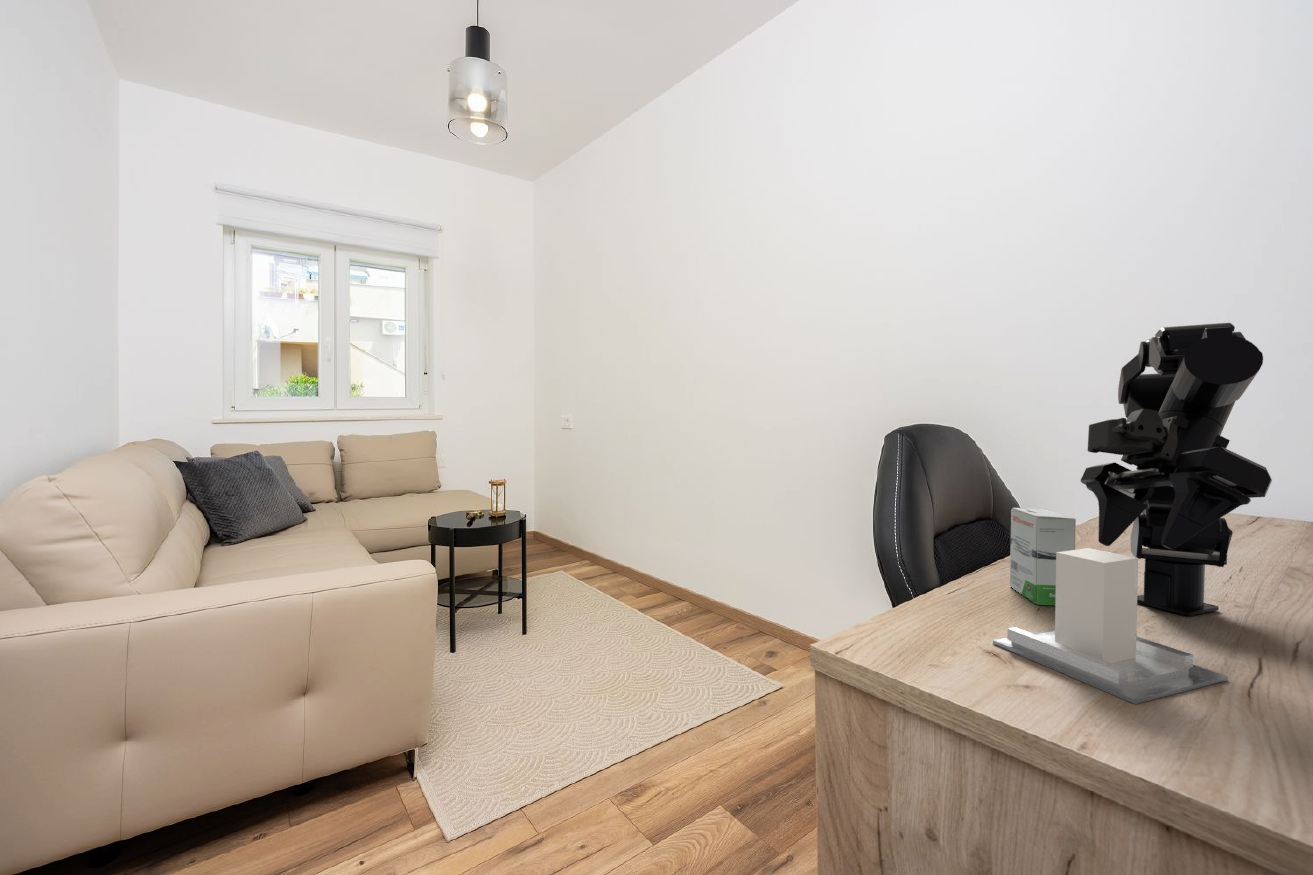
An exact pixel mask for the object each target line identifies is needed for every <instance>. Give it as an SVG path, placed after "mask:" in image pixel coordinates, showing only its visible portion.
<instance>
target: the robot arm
mask: <svg viewBox="0 0 1313 875" xmlns="http://www.w3.org/2000/svg"><path fill="white" fill-rule="evenodd" d="M1235 328H1236V327H1235V325H1234V324H1233V323H1231V322H1221V323H1220V322H1219V323H1204V324H1194V325H1193V324H1192V325H1191V324H1190V325H1178V326H1177V325H1176V326H1163V327H1161V328H1160V329H1158V331H1157V332H1156V333H1155V334H1154V337H1151V338H1148V339H1146V340H1144V341H1140V343H1139V349H1138V353H1137V354H1136V355H1135V356H1134V357H1133V358H1132V359H1131V360H1130V361H1128V362H1127V363H1126V364H1125V365H1123V366H1122V367H1121V370H1120V377H1119V381H1118V388H1117V389H1118V390H1117V399H1118V404H1119V405H1122V406H1123V410H1124V415H1125V417H1119V418H1116V419H1115V418H1113V419H1112V418H1111V419H1107V420H1103V421H1098V422H1096V423H1091V424H1089V425H1088V432H1087V433H1088V435H1087V436H1088V437H1087V452H1088V453H1093V454H1098V453H1105V454H1112V455H1118V456H1119V455H1120V456H1122V457H1121V459H1120V461H1121V462H1123V463H1126V464H1128V465H1130V466H1132V465H1133V466H1135V467H1136V470H1132V469H1129V468H1127V467H1125V466H1123V465H1121V464H1119V463H1117V462H1109V463H1102V464H1096V465H1092V466H1090V467H1086V468H1085V470H1084V472H1083V474H1082V476H1081V478H1080V482H1081V484H1083V485H1085V486H1086V488H1087V490H1089V491H1091V492H1092V493H1093V494H1094V496H1095V497H1096V499H1097V504H1098V543H1099V544H1101V545H1103V546H1105V547H1110V546H1112V545H1113V543H1115V542H1116V540H1118V539H1119V538H1120V536H1121V535H1122V534H1123V533H1124V532H1125V531H1126V530H1127V529H1128V528H1129V527H1130V526H1131V525H1132V529H1131V534H1130V552H1131V554H1132V556H1133V557H1136V558H1138V560H1139V559H1140V560H1142V559H1143V560H1144V571H1143V594H1141V595H1140V594H1139V595H1137V604H1142V605H1145V606H1149V607H1153V608H1156V609H1160V610H1163V611H1168V612H1170V613H1171V612H1172V613H1175V614H1179V615H1182V616H1188V617H1189V616H1195V615H1196V616H1197V615H1200V614H1206V613H1211V612H1216V611H1219V606H1218V605H1216V604H1211V603H1207V602H1205V579H1206V578H1205V576H1206V571H1205V570H1206V566H1213V567H1214V566H1215V567H1219V568H1224V566H1227V565H1228V563H1227V562H1228V551H1229V547H1230V544H1231V540H1232V538H1233V530H1232V529H1231V528H1230V527H1229V526H1228V523H1227V519H1225V518H1224V516H1226V515H1228V514H1229V513H1231V512H1233V511H1234V510H1236V509H1238V507H1241V506H1243V505H1244V506H1245V505H1248V504H1250V503H1251V501H1252V500H1251V499H1253V498H1265V497H1266V496H1267V493H1268V490H1269V489H1270V486H1271V484H1272V481H1273V479H1272V476H1271V475H1270V473H1269V470H1268V469H1267V467H1265V466H1263V465H1262V464H1260V463H1257V462H1256V461H1253V460H1251V459H1249V458H1247V457H1244V456H1243V455H1240V454H1238V453H1236V452H1234V451H1232V450H1229V449H1227V447H1228V446H1229V444H1230V441H1231V440H1230V439H1228V438H1226V437H1224V436H1222V433H1223V430H1224V427H1225V425H1226V424H1227V423H1228V422H1227V421H1228V419H1229V417H1230V415H1231V412H1232V411H1233V408H1234V405H1235V404H1236V401H1239V399H1240V398H1242V396H1243V395H1244V393H1245V392H1246V390H1247V389H1248V387H1249V386H1250V385H1251V383H1252V381H1253V380H1254V379H1255V377H1256V376H1257V375H1258V373H1259V371H1260V370H1261V368H1262V366H1263V365H1264V364H1263V363H1264V356H1263V352H1262V351H1260V349H1259V348H1258V346H1256V345H1255V344H1254V343H1253V342H1251V341H1250V340H1248V339H1247V338H1246V337H1245V336H1244V335H1243V333H1242V332H1241V331H1235ZM1151 367H1152V368H1153V370H1154V371H1155V372H1156V373H1144V372H1145V371H1146V369H1147V368H1151Z"/></svg>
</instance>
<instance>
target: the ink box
mask: <svg viewBox="0 0 1313 875" xmlns="http://www.w3.org/2000/svg"><path fill="white" fill-rule="evenodd" d="M1010 514H1011V515H1010V516H1011V517H1010V551H1009V552H1010V553H1009V554H1010V556H1009V557H1010V559H1009V561H1010V562H1009V587H1010V586H1011V587H1012V588H1013V590H1014V591H1015V590H1016V592H1017V593H1018V592H1019V593H1018V594H1020V595H1021V594H1022V596H1023V597H1024V598H1026V599H1027V598H1028V599H1027V600H1029V601H1030V602H1032V603H1034V604H1035V605H1038V606H1055V601H1056V552H1063V551H1070V550H1076V522H1077V521H1076V520H1077V519H1076V518H1075V517H1071V516H1067V515H1065V514H1061V513H1058V512H1056V511H1052V510H1050V509H1046V508H1044V509H1043V508H1042V509H1041V508H1031V507H1030V508H1028V507H1012V508H1011V510H1010ZM1011 587H1010V588H1011ZM1012 588H1011V589H1012Z"/></svg>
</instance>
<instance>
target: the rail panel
mask: <svg viewBox="0 0 1313 875" xmlns="http://www.w3.org/2000/svg"><path fill="white" fill-rule="evenodd" d="M1006 631H1007V637H1003V638H997V639H993V640H992V644H993V645H995V646H997V647H1000V648H1002V649H1004V650H1006V651H1010V652H1012V653H1013V654H1016V655H1018V656H1021V657H1023V658H1025V659H1028V660H1030V661H1033V662H1035V663H1038V664H1040V665H1042V666H1044V667H1047V668H1049V669H1051V670H1053V671H1056V672H1059V673H1061V674H1064V675H1065V676H1068V677H1070V678H1073V679H1075V680H1077V681H1079V682H1082V683H1085V684H1087V685H1090V686H1091V687H1093V688H1096V689H1098V690H1101V691H1103V692H1105V693H1108V694H1111V695H1113V696H1114V697H1117V698H1119V699H1122V700H1124V701H1127V702H1130V703H1132V704H1134V705H1137V704H1140V703H1145V702H1149V701H1153V700H1156V699H1160V698H1164V697H1168V696H1173V695H1176V694H1181V693H1183V692H1188V691H1192V690H1195V689H1199V688H1203V687H1207V686H1211V685H1215V684H1218V683H1223V682H1227V681H1228V680H1229V679H1228V675H1225V674H1223V673H1222V674H1221V673H1219V672H1217V671H1213V670H1211V669H1208V668H1204V667H1202V666H1199V665H1195V664H1194V654H1193V653H1189V652H1186V651H1182V650H1179V649H1177V648H1173V647H1170V646H1168V645H1164V644H1161V643H1159V642H1155V641H1152V640H1150V639H1145V638H1143V637H1139V636H1137V635H1136V658H1131V659H1127V660H1123V661H1119V662H1115V663H1110V662H1107V661H1104V660H1102V659H1099V658H1096V657H1094V656H1091V655H1088V654H1086V653H1083V652H1080V651H1078V650H1075V649H1073V648H1070V647H1067V646H1065V645H1062V644H1059V643H1057V642H1055V628H1052V629H1046V630H1042V631H1036V632H1030V631H1027V630H1024V629H1022V628H1019V627H1016V626H1013V627H1009V628H1007V630H1006Z"/></svg>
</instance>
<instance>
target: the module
mask: <svg viewBox="0 0 1313 875" xmlns="http://www.w3.org/2000/svg"><path fill="white" fill-rule="evenodd" d="M1138 577H1139V559H1138V558H1136V557H1134V556H1131V555H1125V554H1120V553H1114V552H1111V551H1110V552H1109V551H1105V550H1101V549H1100V550H1099V549H1094V548H1092V547H1086V548H1079V549H1075V550H1070V551H1063V552H1056V601H1055V605H1054V606H1055V607H1054V608H1055V609H1054V611H1055V612H1054V616H1055V617H1054V629H1055V642H1057V643H1059V644H1062V645H1065V646H1067V647H1070V648H1073V649H1075V650H1078V651H1080V652H1083V653H1086V654H1088V655H1091V656H1094V657H1096V658H1099V659H1102V660H1104V661H1107V662H1110V663H1115V662H1119V661H1123V660H1127V659H1131V658H1136V636H1137V630H1138V628H1137V625H1138V622H1137V620H1138V602H1137V596H1138V588H1139V587H1138V580H1139V579H1138Z"/></svg>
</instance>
